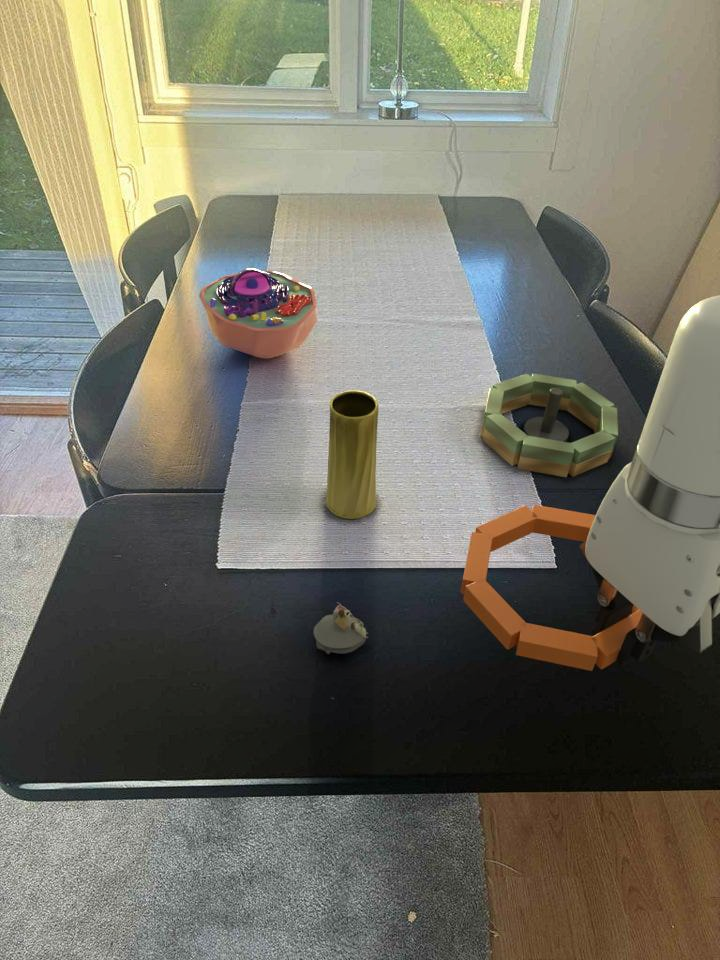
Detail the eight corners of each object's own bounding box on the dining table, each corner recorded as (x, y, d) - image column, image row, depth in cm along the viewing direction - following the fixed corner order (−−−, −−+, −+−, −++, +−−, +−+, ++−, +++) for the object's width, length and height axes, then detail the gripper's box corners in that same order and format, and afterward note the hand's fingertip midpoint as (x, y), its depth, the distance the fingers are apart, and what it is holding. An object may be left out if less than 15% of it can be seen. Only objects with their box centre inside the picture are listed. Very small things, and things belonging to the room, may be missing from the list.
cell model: (228, 389, 101) (220, 318, 93) (194, 326, 114) (185, 259, 107) (337, 366, 106) (337, 298, 99) (292, 308, 120) (289, 244, 112)
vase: (315, 505, 83) (313, 407, 74) (345, 478, 87) (347, 381, 77) (357, 527, 80) (361, 428, 71) (386, 498, 84) (393, 400, 75)
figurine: (311, 660, 67) (310, 621, 63) (316, 622, 70) (315, 583, 66) (366, 663, 67) (369, 624, 63) (368, 626, 70) (371, 587, 66)
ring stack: (636, 449, 93) (652, 406, 88) (540, 491, 86) (552, 446, 82) (549, 387, 104) (559, 345, 99) (457, 419, 97) (464, 376, 92)
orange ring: (696, 613, 62) (703, 598, 61) (551, 699, 55) (556, 685, 54) (562, 501, 73) (565, 486, 72) (428, 562, 66) (429, 547, 65)
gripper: (832, 533, 43) (728, 697, 55) (636, 406, 54) (584, 567, 66) (755, 579, 41) (662, 742, 53) (563, 435, 51) (523, 599, 63)
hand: (619, 644), depth 59 cm, fingers closed on orange ring, 2 cm apart
